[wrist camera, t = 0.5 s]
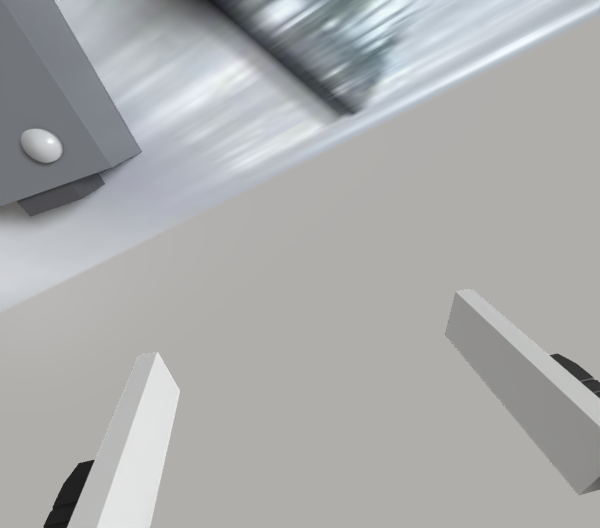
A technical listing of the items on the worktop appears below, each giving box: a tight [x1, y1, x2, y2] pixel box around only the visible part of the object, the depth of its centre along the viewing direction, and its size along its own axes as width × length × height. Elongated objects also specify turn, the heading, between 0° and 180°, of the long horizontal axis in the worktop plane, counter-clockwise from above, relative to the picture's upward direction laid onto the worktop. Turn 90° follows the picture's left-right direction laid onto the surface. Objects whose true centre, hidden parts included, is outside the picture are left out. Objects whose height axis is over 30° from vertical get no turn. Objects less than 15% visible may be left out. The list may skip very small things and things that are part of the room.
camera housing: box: [0, 0, 142, 216], centre depth 23 cm, size 18×12×9 cm
